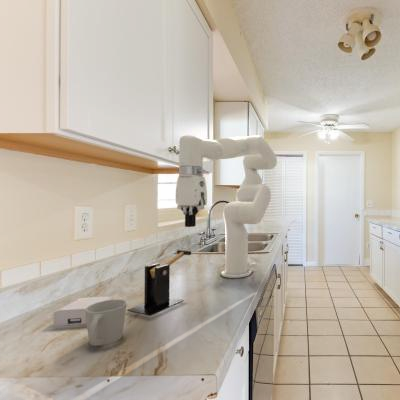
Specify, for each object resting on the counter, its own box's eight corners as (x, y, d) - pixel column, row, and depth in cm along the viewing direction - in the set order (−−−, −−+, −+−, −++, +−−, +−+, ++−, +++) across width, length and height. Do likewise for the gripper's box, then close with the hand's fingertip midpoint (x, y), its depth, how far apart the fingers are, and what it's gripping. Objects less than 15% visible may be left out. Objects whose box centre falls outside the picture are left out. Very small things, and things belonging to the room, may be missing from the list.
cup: (131, 333, 66) (131, 298, 66) (113, 356, 56) (113, 315, 56) (95, 336, 64) (95, 300, 64) (70, 361, 54) (70, 318, 54)
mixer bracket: (162, 299, 88) (162, 260, 88) (184, 303, 84) (184, 262, 84) (127, 314, 76) (127, 268, 77) (150, 319, 73) (150, 272, 73)
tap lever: (180, 254, 92) (178, 247, 91) (192, 255, 90) (190, 249, 89) (148, 276, 81) (146, 269, 80) (160, 278, 79) (158, 271, 78)
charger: (122, 304, 83) (95, 327, 69) (89, 306, 82) (53, 329, 67) (122, 289, 83) (95, 308, 69) (89, 290, 82) (53, 310, 67)
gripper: (216, 173, 93) (215, 226, 93) (182, 174, 99) (181, 224, 99) (200, 170, 86) (199, 228, 86) (165, 172, 92) (164, 226, 92)
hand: (190, 226), depth 93 cm, fingers closed
